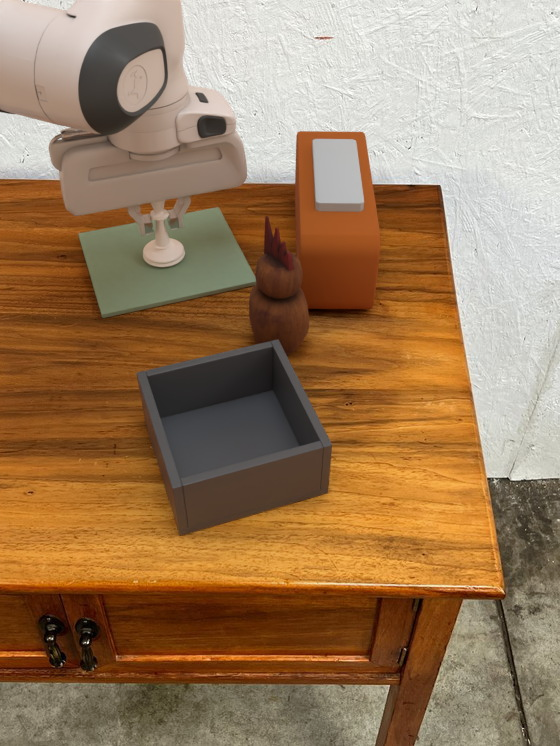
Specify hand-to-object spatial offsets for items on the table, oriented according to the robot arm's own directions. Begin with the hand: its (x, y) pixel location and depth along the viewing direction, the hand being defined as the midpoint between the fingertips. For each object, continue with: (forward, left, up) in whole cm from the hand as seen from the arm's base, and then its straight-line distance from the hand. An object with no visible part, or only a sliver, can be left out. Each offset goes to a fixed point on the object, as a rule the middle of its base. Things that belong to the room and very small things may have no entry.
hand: (161, 229), depth 89 cm
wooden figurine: (+8, -18, -5) cm, 20 cm away
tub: (-1, -31, -4) cm, 31 cm away
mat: (0, 0, -4) cm, 5 cm away
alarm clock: (+19, -5, -5) cm, 20 cm away
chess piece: (0, 0, -4) cm, 4 cm away
